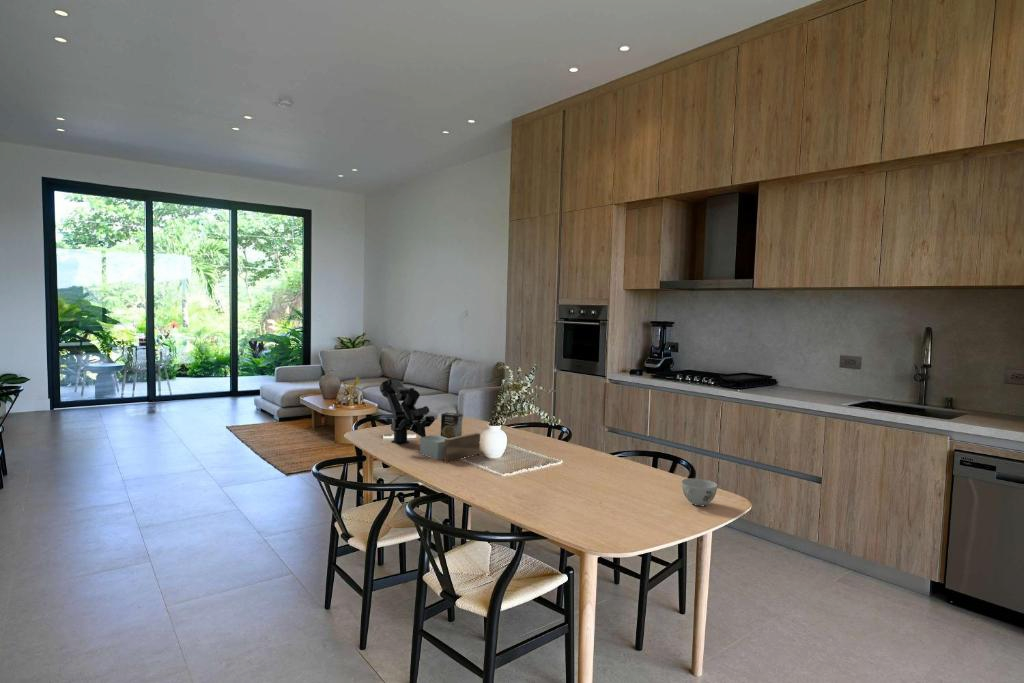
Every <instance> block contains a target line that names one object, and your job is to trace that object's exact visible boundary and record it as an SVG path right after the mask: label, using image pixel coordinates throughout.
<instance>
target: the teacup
mask: <svg viewBox="0 0 1024 683" xmlns="http://www.w3.org/2000/svg"><path fill="white" fill-rule="evenodd" d="M681 489H682V492H683V495H684V496H685V498H686V499H687V501H688V502H689V503H690V504H691V503H692V504H696V505H706V506H708V504H710V503H711V502H713V500H714V498H715V497H716V494H717V491H718V483H716V482H714V481H712V480H709V479H704V478H703V479H702V478H691V477H690V478H684V479H682V480H681ZM692 504H691V505H692Z"/></svg>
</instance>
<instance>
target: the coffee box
mask: <svg viewBox="0 0 1024 683" xmlns="http://www.w3.org/2000/svg"><path fill="white" fill-rule="evenodd" d="M440 417H441V419H440V422H441V423H440V436H442V437H445V438H453V437H458V436H463V435H462V434H463V417H464V416H463V414H462V413H457V412H456V413H455V412H448V411H447V412H443V413H441V416H440Z"/></svg>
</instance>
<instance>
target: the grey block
mask: <svg viewBox="0 0 1024 683" xmlns="http://www.w3.org/2000/svg"><path fill="white" fill-rule="evenodd" d="M445 439H448V438H445V437H442V436H441V435H438V434H432V435H428V436H427V435H426V436H425V437H421V436H420V444H419V446H420V447H419V449H420V452H419V454H420V453H421V454H420V455H422V454H424V455H423V456H425V455H427V456H426V457H428V456H430V457H432V458H431V459H433V458H435V459H434V460H436V459H439V460H442V459H441V458H444V444H445ZM430 457H429V458H430Z"/></svg>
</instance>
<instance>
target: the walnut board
mask: <svg viewBox="0 0 1024 683" xmlns="http://www.w3.org/2000/svg"><path fill="white" fill-rule="evenodd" d="M480 444H481V434H480V433H479V432H474V433H469V434H463V435H462V436H458V437H453V438H448V439H445V444H444V459H443V462H445V461H446V462H445V463H451V462H450V461H452V462H456V461H459V460H458V459H460V460H462V459H461V458H464V457H468V456H472V455H476V456H478V455H477V454H479V455H480V446H481V445H480ZM472 457H473V456H472ZM468 458H469V457H468ZM464 459H465V458H464ZM455 460H456V461H455Z"/></svg>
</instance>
